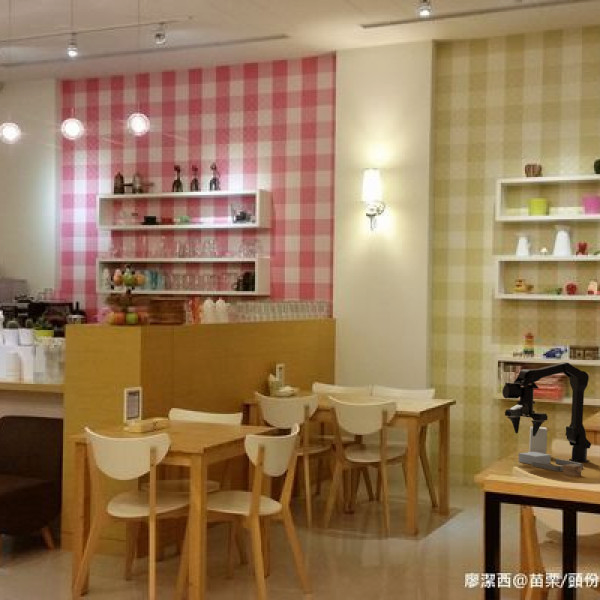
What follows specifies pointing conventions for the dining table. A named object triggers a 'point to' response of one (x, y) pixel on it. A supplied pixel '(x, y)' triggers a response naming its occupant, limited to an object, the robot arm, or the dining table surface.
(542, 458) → the carton
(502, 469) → the dining table surface
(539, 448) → the supplement box
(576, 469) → the walnut block
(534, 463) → the display bay
